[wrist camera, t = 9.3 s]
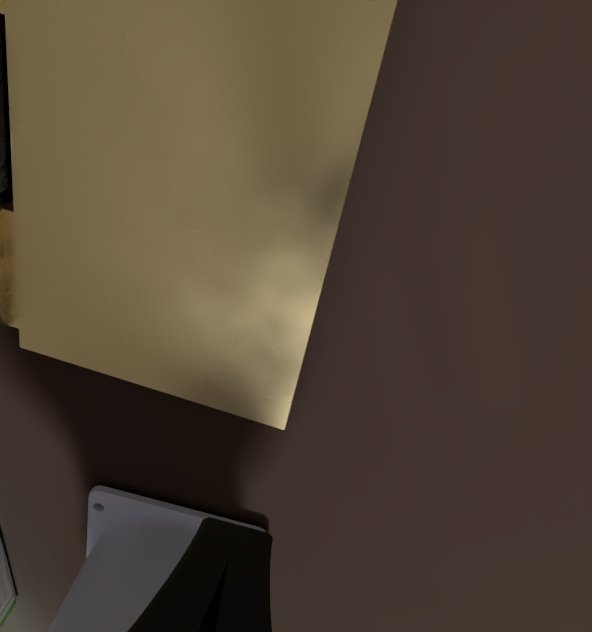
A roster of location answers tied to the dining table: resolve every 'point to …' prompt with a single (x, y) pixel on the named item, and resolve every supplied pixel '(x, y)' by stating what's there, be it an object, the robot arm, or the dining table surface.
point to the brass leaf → (182, 185)
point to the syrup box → (5, 588)
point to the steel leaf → (2, 134)
